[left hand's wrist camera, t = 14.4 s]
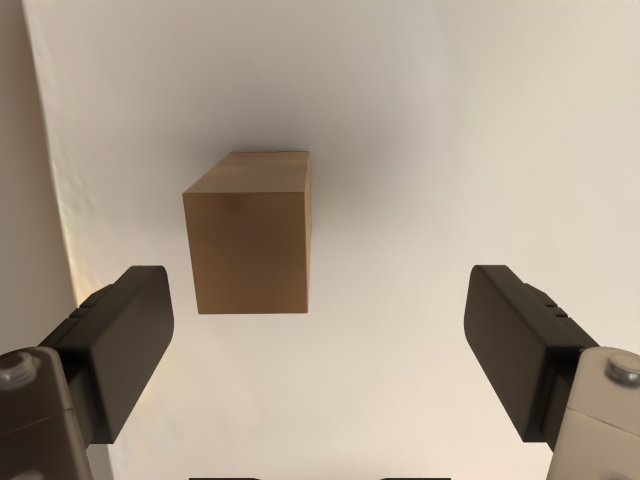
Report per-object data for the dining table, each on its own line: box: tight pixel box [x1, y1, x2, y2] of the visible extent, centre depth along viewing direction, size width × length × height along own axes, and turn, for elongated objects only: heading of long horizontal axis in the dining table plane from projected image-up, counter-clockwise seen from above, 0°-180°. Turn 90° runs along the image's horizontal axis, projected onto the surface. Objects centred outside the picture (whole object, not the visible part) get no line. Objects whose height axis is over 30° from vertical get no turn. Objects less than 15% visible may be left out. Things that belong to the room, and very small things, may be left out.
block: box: [182, 152, 311, 314], centre depth 20 cm, size 4×5×9 cm
